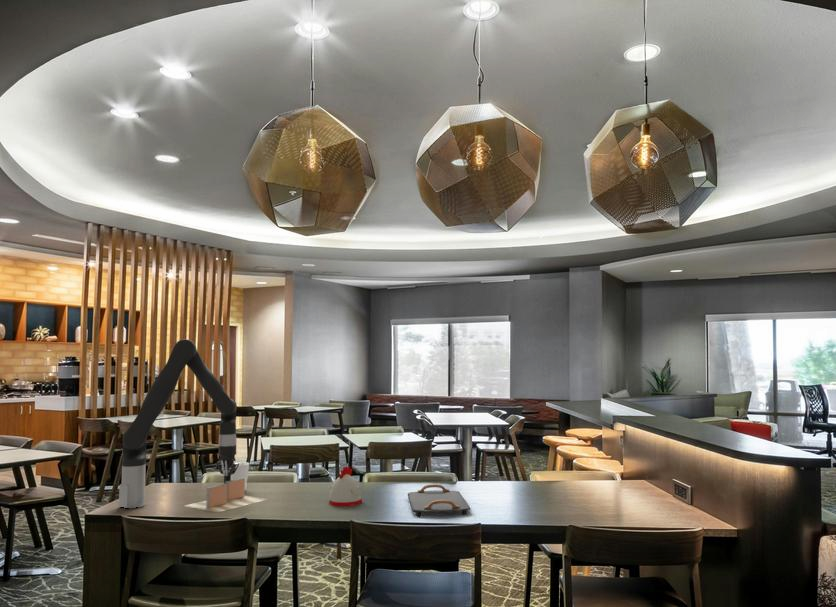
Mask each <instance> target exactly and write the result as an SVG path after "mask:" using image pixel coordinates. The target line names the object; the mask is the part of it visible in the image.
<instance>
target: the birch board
mask: <svg viewBox="0 0 836 607" xmlns="http://www.w3.org/2000/svg"><path fill="white" fill-rule="evenodd" d="M267 500H269V498H263V497H257V496H250V495H245V494H244V497H242V498H238V499H234V500H229V501H227V504H224V505H219V506H215V507H211V508H206V500H203V501H198V502H194V503H190V504H185V505H184V507H186V508H191V509H192V508H193V509H198V510H200V511H201V510H203V511H208V512H213V513H221V512H224V511H225V512H226V511H230V510H233V509H237V508H241V507H245V506H248V505H252V504H257V503H261V502H265V501H267Z"/></svg>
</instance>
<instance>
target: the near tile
mask: <svg viewBox="0 0 836 607" xmlns="http://www.w3.org/2000/svg"><path fill="white" fill-rule="evenodd" d="M205 494H206V500H205V501H206V508H211V507H215V506H219V505H224V504H227V484H224V483H222V484H217V485H214V486H213V485H211V486H209V487H208V486H207V487H206V493H205Z"/></svg>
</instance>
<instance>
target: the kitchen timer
mask: <svg viewBox="0 0 836 607" xmlns="http://www.w3.org/2000/svg"><path fill="white" fill-rule="evenodd" d="M352 473H353V468H351V466H343V467H342V470H340V473H338V477H337V478H336V480H335V481H334V482H333V485H331V486H330V492H329V496H328V497H329V498H328V504H329V505H331V506H333V507H352V506H357V505H360V504H362V502H363V496H362V490H361V488H362V487H361V486H359V483H358V482H357V481H356V479H355V478H354V477H353V476H352Z"/></svg>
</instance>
